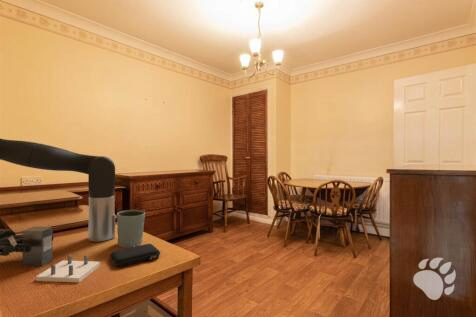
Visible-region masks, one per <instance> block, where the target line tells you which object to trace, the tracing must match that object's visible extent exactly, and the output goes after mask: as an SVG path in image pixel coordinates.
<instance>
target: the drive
mask: <svg viewBox="0 0 476 317" xmlns="http://www.w3.org/2000/svg"><path fill="white" fill-rule="evenodd" d="M22 234H23V244H31V251H30V252H21V253H22V265H21V266H22V267H30V268H31V267H34V268H42V267H44V266H46V265H47V264H50V263H51V262H53V241H52V235H53V227H52V226H31V227H29V228H25V229H24V230H22Z"/></svg>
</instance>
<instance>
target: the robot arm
mask: <svg viewBox="0 0 476 317" xmlns="http://www.w3.org/2000/svg"><path fill="white" fill-rule="evenodd" d="M0 160H1V161H4V162H6V163H7V162H8V163H11V164H14V165H18V166H22V167H26V168H31V169H36V170H37V169H39V170H44V171H45V170H46V171H54V172H55V171H56V172H57V171H58V172H61V171H62V172H76V173H82V174H85V175H88V179H87V180H88V181H87V182H88V185H87V186H88V225H87V226H88V227H87V228H88V230H87V231H88V232H87V237H88V241H90V242H103V241H104V242H105V241H108V240H112V239H115V238H116V214H115V202H116V201H115V194H116V192H115V190H116V165H115V163H114V160H112V159H111V158H110V157H107V156H105V155H104V156H102V155H101V156H100V155H99V156H98V155H90V154H83V153H78V152H74V151H70V150H68V149H64V148H61V147H56V146H53V145H48V144H44V143H39V142H32V141H26V140H12V139H5V138H0ZM53 241H54V235H53V234H52V242H53ZM30 251H31V244H23V233H16V232H15V231H14V230H12V229H9V228H8V229H7V228H6V229H5V228H0V256H1V257H2V256H3V257H7V256H10V254H16V253H22V252H30Z"/></svg>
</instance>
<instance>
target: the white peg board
mask: <svg viewBox="0 0 476 317" xmlns="http://www.w3.org/2000/svg"><path fill="white" fill-rule="evenodd" d="M100 266H101V261H89V255H88V254H85V255H83V260H73V256H72V254H67V260H65V259H63V260H61V261H58V262H57V263H55V264H51V265H50V267H49V268H48V269H46V270H45V271H42V272H41V273H39V274H38V275H36V276H35V281H36V282H58V283H59V282H61V283H62V282H63V283H81V282H82V281H83V280H84V279H85V278H86V277H88V276H89V275H90V274H92V273H93V272H94V271H95V270H97V269H98V268H100Z"/></svg>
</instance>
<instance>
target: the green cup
mask: <svg viewBox="0 0 476 317" xmlns="http://www.w3.org/2000/svg"><path fill="white" fill-rule="evenodd" d="M145 219H146V212H145V211H144V210H139V209H129V210H122V211H119V212H117V214H116V222H117V228H116V230H117V245H118V247H120V248H123V247H129V248H130V247H134V246H137V245H138V246H140V245H142V243H143V234H144V227H145Z"/></svg>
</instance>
